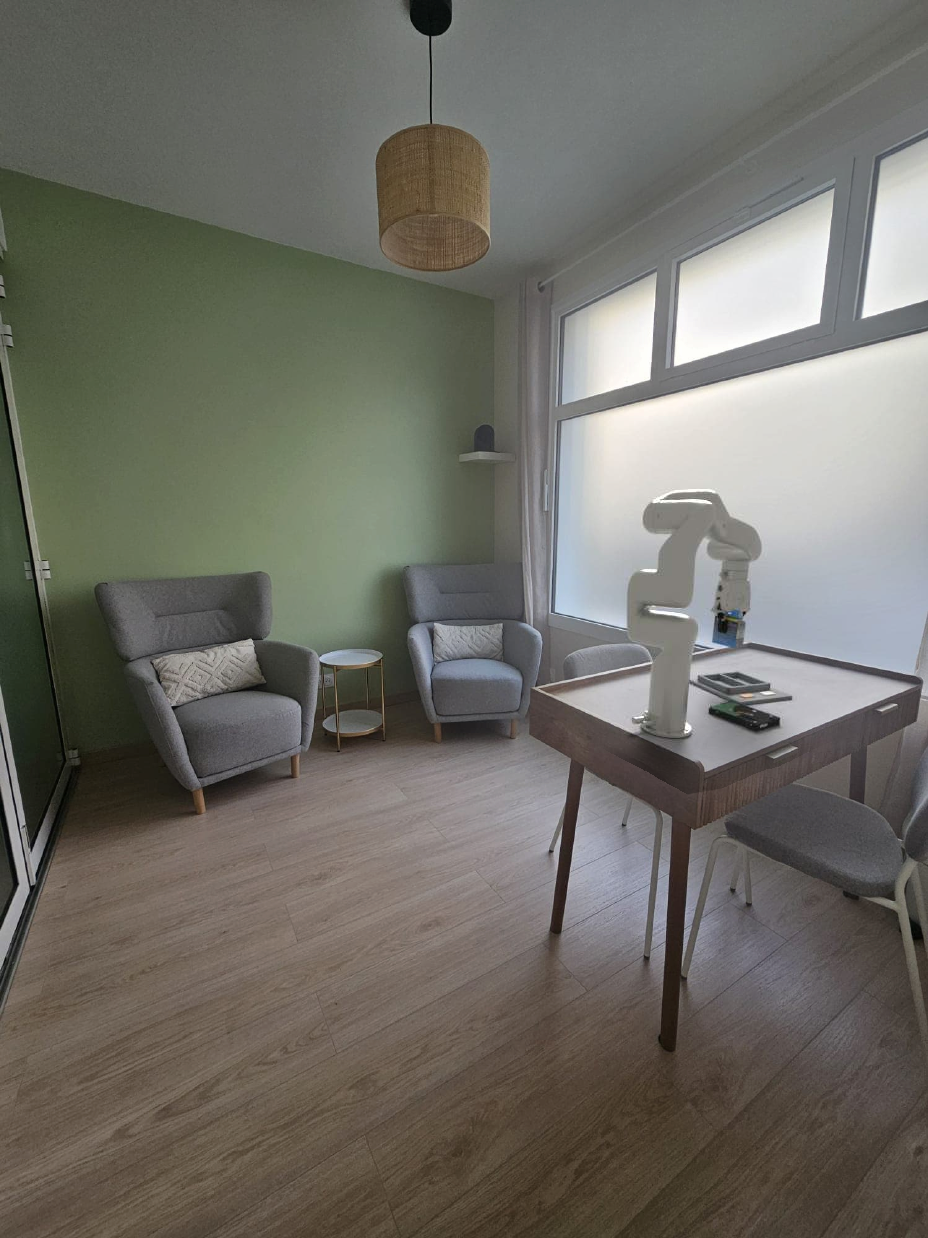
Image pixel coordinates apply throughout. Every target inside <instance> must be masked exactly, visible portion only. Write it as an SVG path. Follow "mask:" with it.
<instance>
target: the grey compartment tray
mask: <svg viewBox="0 0 928 1238" xmlns="http://www.w3.org/2000/svg"><path fill="white" fill-rule="evenodd" d="M689 684H691V685H694V686H696V687H698V688H700V689H702V690H705V692H706V691H707V692H709V693H711V694H713V695H715V696H718V697H719V698H722V699H724V700H726V701H727V702H728V701H734V702H736V703H740V704H743V705H745V706H747V705H753V704H755V705H756V704H761V703H762V704H763V703H770V702H776V701H785V700H784V699H787V700H792V699H793V695H791V694H789V693H786V692H784V691H782V690H779V689H776V688H773V687H771V683H770V682H768V681H765V680H762V679H760V678H757V677H755V676H752V675H750V674H746V673H744V672H741V671H738V670H736V671H727V672H726V671H725V672H719V673H716V672H715V673H708V674H700V675H697V678H695V679H694V678H693V679H690V681H689Z"/></svg>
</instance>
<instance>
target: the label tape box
mask: <svg viewBox="0 0 928 1238" xmlns="http://www.w3.org/2000/svg"><path fill="white" fill-rule="evenodd" d="M718 611H719V610H718ZM723 614H724V613H722V615H723ZM739 614H740V610H735V611H734V612H730V613H728V615H727V619H726V621H727V622H728V623H727V632H726V633H721V632H718V621H719V620H717V617H716V616H715V615H714V621H713V630H712V639H711V640H712V641H711V643H713V644H716V645H720V646H725V647H728V648H731V649H732V648H733V649H742V648H744V640H745V632H746V631H745V630H746V621H744V619H742V620H741V619H739Z"/></svg>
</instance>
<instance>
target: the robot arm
mask: <svg viewBox="0 0 928 1238" xmlns="http://www.w3.org/2000/svg"><path fill="white" fill-rule="evenodd" d="M642 525H643V527H644V529H645V531H647V532H648V533H649V534H654V535H670V536H669V537H668V538H667V539H666V540H665V541H664V542H663V544H662V546H661V547H660V548H659V552H658V558H657V569H646V568H645V569H639V570H637V571H635V572H634V573H632V575H631V577H630V578H629V582H628V585H627V591H626V634H627V637H628V639H629V640H630V641H631V642H633V643H635V644H638V645H644V646H649V647H655V648H658V649H661V650H662V651H661V652H660V653H659V654H658V655H657V656H655V658H654V659H653V660H652V662H651V668H650V678H649V679H650V683H649V694H648V695H649V696H648V707H647V708H648V710H644V713H643V714H641V716H639V715H637V716H633V717H631V724H633V725H639V724H640V726H641V728H642V729H643V730H644V731H645V732H647V733H649V734H651V735H654V736H657V737H661V738H666V739H669V738H670V739H682V738H686V737H688V736H690V735H691V734H692V726H691V725H690V724H689V723H688V722H687V715H688V700H689V689H690V683H689V681H690V680H691V679H690V678H691V667H692V660H693V654H694V649H695V645H696V641H697V638H698V634H699V625H698V623H697V621H696V620H695V619H694V618H693V617H691V616H689V615H686V614H683V613H680V612H671V611H664V610H663V611H662V610H655V609H654V610H653V609H650V608H651V607H653V608H654V607H655V608H662V609H663V608H664V609H669V610H670V609H672V610H683V609H686V608H688V607H689V606H690V605H691V603H692V601H693V598H694V597H693V596H694V590H695V589H694V586H695V585H694V584H695V568H696V565H695V563H696V555H697V551H698V549H699V547H700V545H701V543H702V541H703V540H704V539H706V540H708V541H709V542H708V543H707V546H706V553H707V556H708V557H709V558H710V559H712V560H714V561H719V562H721V561H722V562H721V571H720V572H719V574H718V575H719V577H720V579H719V580H718V582H717V587H716V591H715V598H714V604H713V606H712V608H711V609H710V612H711V613H712V614H713V615H714V617H715V616H716V617H717V620H719V621H718V632H721V633H726V632H727V623H728V622H727V621H726V619H727V615H728V614H729V613H731V612H734V611H735V610H740V614H739V619H741V620H744V617H745V616H746V615H747V613H748V612H749V611H751V595H752V594H751V582H750V579H749V578H748V577H749V568H750V563H752V562H756V561H757V560H758V559H759V558H760V556H761V554H762V547H763V546H762V541H761V538H760V535H759V533H758V531H757V530H756V528H755V527H753V526H752V525H750V524H749V523H747V522H745V521H742V520H740V519H738V518H735V517H734V516H730V514H729V512H728V510H727V507H726V505H725V504H724V502H723V500H722V498H721V496H720V495H719V493H717V492H716V491H714V490H712V489H683V490H674V491H671V492H668V493H666V494H663V495H662V496H659V497H657V498H656V499H653V500H652V501H650V502H649V503H648V504H647V505H646V507H645V509H644V511H643V513H642ZM718 610H719V611H718ZM722 613H724V614H723V615H722Z"/></svg>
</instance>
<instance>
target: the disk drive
mask: <svg viewBox="0 0 928 1238" xmlns="http://www.w3.org/2000/svg"><path fill="white" fill-rule="evenodd" d="M708 714H709V715H712V716H714V717H716V718H720V719H722V720H724V721H727V722H730V723H732V724H735V725H737V726H740V727H742V728H745V729H747V730H750V731H752V732H755V733H758V732H761V731H765V730H767V729H771V728H775V727H779V726H780V724H781V717H780V716H777V715H774V714H771V713H768V712H765V711H762V710H759V709H757V708H754V707H751V706H749V705H748V706H747V705H743V704H740V703H736V702H734V701H728V700H727V701H725V702H720V703H719V704H716V705H710V706H709V707H708Z"/></svg>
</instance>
